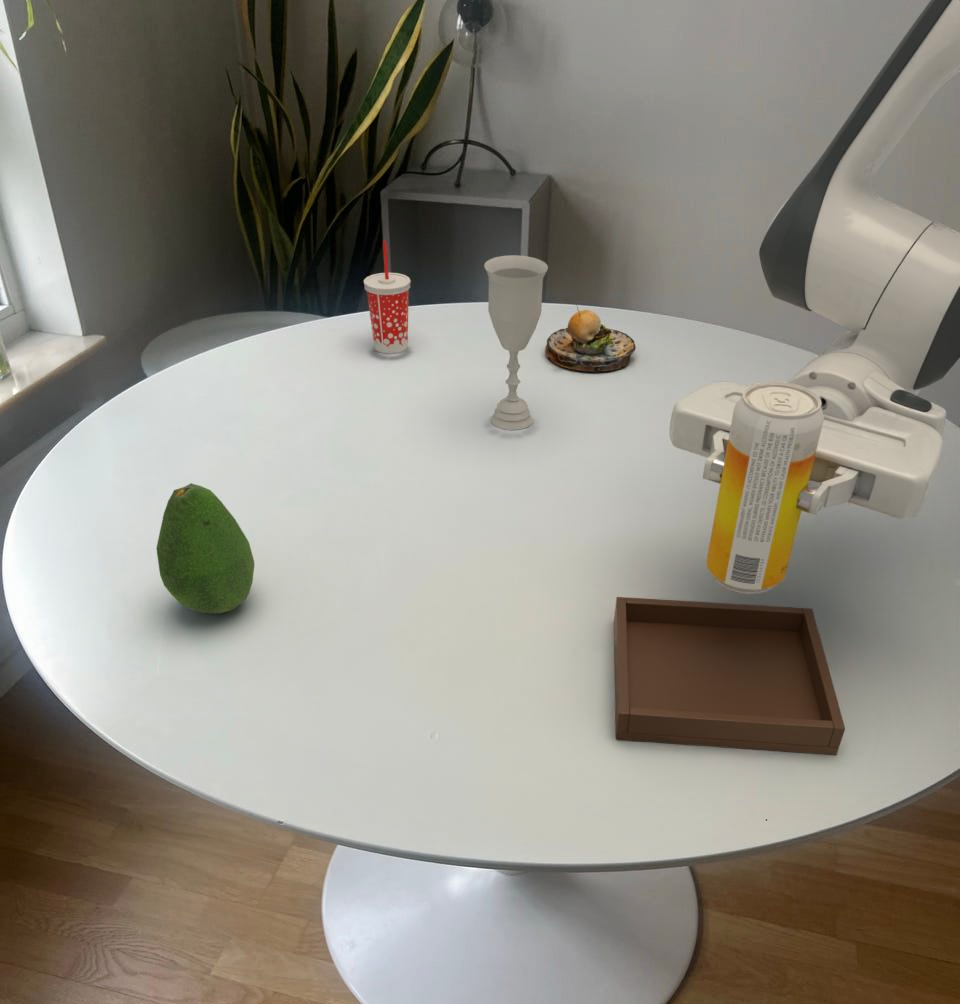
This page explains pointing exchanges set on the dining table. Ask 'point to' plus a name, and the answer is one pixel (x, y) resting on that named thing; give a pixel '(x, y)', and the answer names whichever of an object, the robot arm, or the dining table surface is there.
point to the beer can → (763, 485)
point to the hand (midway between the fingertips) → (759, 488)
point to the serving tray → (723, 676)
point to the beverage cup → (388, 308)
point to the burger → (589, 345)
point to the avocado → (203, 552)
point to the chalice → (514, 324)
